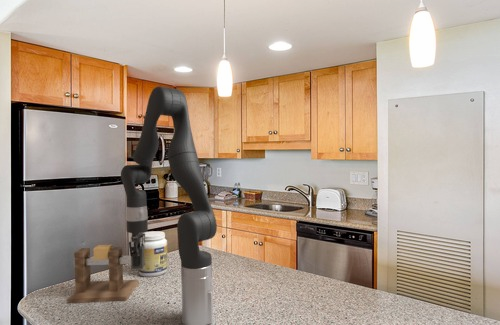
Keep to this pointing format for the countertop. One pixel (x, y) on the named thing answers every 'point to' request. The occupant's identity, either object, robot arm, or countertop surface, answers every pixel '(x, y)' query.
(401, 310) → the countertop surface
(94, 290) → the wooden shaft stand
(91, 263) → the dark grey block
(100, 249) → the ochre spacer
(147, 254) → the supplement tub
